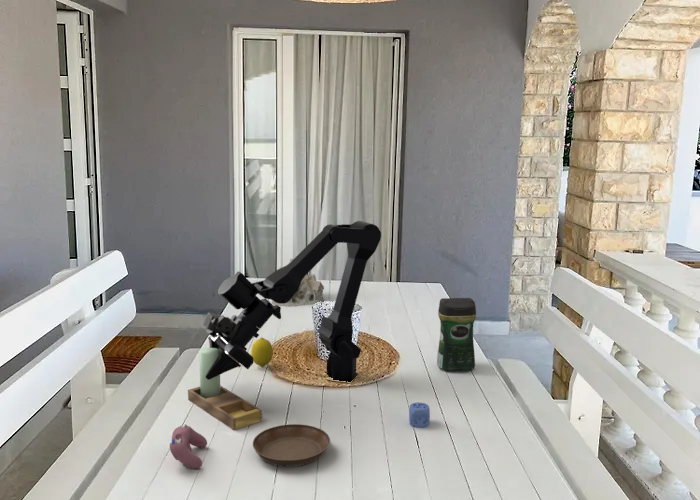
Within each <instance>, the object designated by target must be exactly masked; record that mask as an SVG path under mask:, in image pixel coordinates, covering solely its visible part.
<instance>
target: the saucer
mask: <svg viewBox="0 0 700 500" xmlns="http://www.w3.org/2000/svg"><path fill="white" fill-rule="evenodd" d="M330 443H331V438H330V435H329V434H328V432H326V431H325V430H323V429H322V428H318V427H316V426H313V425H308V424H301V423H300V424H299V423H296V424H295V423H293V424H292V423H291V424H281V425H277V426H273V427H269V428H266V429H264V430H263V431H260V432H259V433H258V434H257V435H256V436H255V437H254V438H253V441H252V447H253V449H254V451H255V453H256V454H257V455H258V456H259V457H261V458H262V459H263V460H264V461H266V462H267V463H269V464H272V465H274V466H279V467H286V468H287V467H289V468H290V467H299V466H305V465H308V464H310V463H312V462H315V460H316V461H317V459H319V458H320V457H321V456H322V455H323V454H324V453H325V452H326V450H327V449H328V448H329V446H330Z"/></svg>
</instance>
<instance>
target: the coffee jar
mask: <svg viewBox="0 0 700 500" xmlns="http://www.w3.org/2000/svg"><path fill="white" fill-rule="evenodd" d="M476 307H477V306H476V302H475V301H474V299H473V298H471V297H451V298H450V297H448V298H447V297H445V298H443V297H442V298H441V299H440V300H439V306H438V310H437V314H438V318H439V323H440V329H439V330H440V331H439V339H438V340H439V341H438V347H437V349H438V350H437V355H436V356H437V357H436V366H437V367H438V369H440V370H442V371H445V372H448V373H449V372H450V373H451V372H452V373H457V372H458V373H460V372H469V371H470V372H471V371H473V370H475V368H476V358H475V357H476V355H475V347H474V346H475V345H474V344H475V343H474V323H475V321H476V318H477V309H476Z"/></svg>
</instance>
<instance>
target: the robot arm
mask: <svg viewBox="0 0 700 500" xmlns="http://www.w3.org/2000/svg"><path fill="white" fill-rule="evenodd" d="M381 240H382V232H381V229H380V228H379V227H378V226H377V225H375V224H374V223H370V222H366V221H362V220H357V221H353V223H351V224H347V223H346V224H345V223H344V224H330V223H329V224H327V225H324V227H323V228H322V230H321V231H320V232H319V233H318V234H317V235H316V236H315V237H314V239H313V240H311V241H310V242H309V244H308V245H306V247H304V249H303V250H301V251H300V253H298V254H297V255H296V256H295V257H294V258H292V259H293V260H292V261H291V262H290V261H289V262H290V263H288V264H286V265H285V266H281V267H282V268H280V267H279V268H280V269H279V268H278V269H277V270H275V271H274V272H272V273H270V274H269V275H267V277H265V278H264V279H263V280H259V281H255V282H251V281H250V280H249V279H248V278H247V277H246V276H245V274H243V273H242V272H241V271H239V270H237V272H236V273H235V274H233V275H231V276H229V277H227V278H226V279H224V280H223V281H222V283H221V284H220V286H219V288H218V290H217V294H218V295H219V296H221V298H223V299H224V300H225V301H226V302H228V303H229V304H230V306H232V307H233V308H234V309H235V310H241V309H242V311H241V313H240V314H239V315H236V314H233V315H232V316H231V317H229V316H224V315H223V314H222V315H220V314H217V313H213V312H212V311H211V312H210V311H208V312H207V314H206V316H205V319H204V321H203V323H202V325H203V326H204V327H206V330H205V332H206V333H207V334H208V335H210V336H208V338H207V339H208V342H209V348H217V349H219V356H218V358H217V359H216V361H215V362H214V364H213V365H212V367H211V368H210V370H209V371H208V373H207V374H206V376H205V377H206V378H207V379H208V380H210V379H212V378H214V377H216V376H218V375H220V376H221V375H222V374H224V373H227V372H229V371H232V370H233V369H236V368H241V367H242V366H243V367H244V368H245V369H246V370H249V369H250V368H251V366H252V365H253V364H254V361H253V357H252V356H251V353H249V352H248V351H247V350H248V348H247V347H246V346H247V345H248V344H249V343H250V342H251V340H252V339H253V338H256V339H257V338H258V337H259V336H260V334H259V331H260V330H261V329H262V327H263V326H264V325H265V324H266V323H267V321H268V320H269V319H271V317H272V316H274V317H275V318H277V319H278V320H282V314H281V313H282V312H281V309H282V308H281V307H282V306H278V305H273V304H272V302H270V301H269V300H271V301H272V300H273V301H274V302H276V303H279V304H283V303H284V304H285V303H287V302H288V301H290V300H291V299H292V297H293V296H294V294H295V293H296V292H297V290H298V289H299V287H300V284H301V281H302V280H303V278H304V277H305V275H308V274H309V273H310V272H311V270H313V269H314V268H315V267H316V266H317V264H318V263H320V261H322V260H323V259H324V258H325V256H326V255H328V253H330V251H332V249H333V248H335V246H336V245H337V244H339V243H342V244H343V243H345V244H346V249H347V260H346V263H345V266H344V271H343V273H342V277H341V280H340V284H339V288H338V291H337V295H336V298H335V302H334V306H333V310H332V312H331V313H330V314H329V315H328V316H327V317H326V316H324V315H323V316H321V317H322V318H321V320H320V321H321V322H320V326H319V328H318V330H317V332H318V333H319V336H318V338H319V340H320V343H321V344H323V345H324V346H325V348H326V351H328V352H330V353H329V354H328V359H326V376H327V375H328V376H329V377H331V378H333V380H339V381H346V382H347V381H348V382H351V381H352V380H353V379H354V378H355V377H356V376H357V375H358V376H359V372H357V359H359V357H360V354H361V351H362V350H361V348H360V347H359V346H358V345H357V344H355V343H354V342H353V335H354V328H353V319H352V317H353V313H354V310H355V305H356V302H357V300H358V299H357V298H358V295H359V291H360V287H361V285H362V281H363V277H364V274H365V271H366V266H367V263H368V261H369V260H370V258H371V257H372V256H373V255H374V254H375V252H376V251H377V248H378V246H379V244H380V241H381ZM257 295H259V296H261V297H262V299H260V298H259V297H258V296H257ZM328 376H327V377H328ZM358 376H357V377H358ZM357 377H356V378H357ZM356 378H355V379H356ZM355 379H354V380H355ZM354 380H353V381H354ZM353 381H352V382H353Z"/></svg>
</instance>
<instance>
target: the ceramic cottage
mask: <svg viewBox="0 0 700 500" xmlns="http://www.w3.org/2000/svg"><path fill="white" fill-rule="evenodd" d="M293 259H294V258H289V263H290V262H291V261H292V260H293ZM289 263H288V264H289ZM282 267H283V266H280V267H279V268H278V269H280V268H282ZM324 290H325V286H324V284H323V283H322V282H321V281H319V280H317V279H316V274H315V273H313V274H311V275H308V274H306V275H305V277H304V278H303V280H302V281H301V284H300V287H299V289H298V290H297V292H296V293H295V294H294V296H293V297H292V299H291V300H290V301H288V302H287V303H285V304H284V303H283V304H279V303H276V302H274V301H273V300H271V301H272V302H271V304H272V305H273V306H275V305H278V306H279V307H299V306H314V305H313V304H315V303H317V302H320V301H323V302H324V301H325V300H324V296H323V294H324ZM320 303H321V302H320Z"/></svg>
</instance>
